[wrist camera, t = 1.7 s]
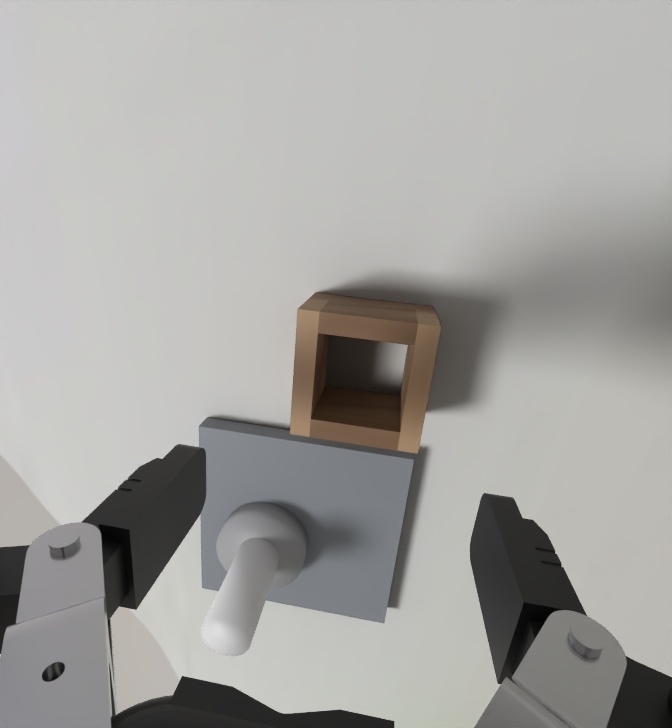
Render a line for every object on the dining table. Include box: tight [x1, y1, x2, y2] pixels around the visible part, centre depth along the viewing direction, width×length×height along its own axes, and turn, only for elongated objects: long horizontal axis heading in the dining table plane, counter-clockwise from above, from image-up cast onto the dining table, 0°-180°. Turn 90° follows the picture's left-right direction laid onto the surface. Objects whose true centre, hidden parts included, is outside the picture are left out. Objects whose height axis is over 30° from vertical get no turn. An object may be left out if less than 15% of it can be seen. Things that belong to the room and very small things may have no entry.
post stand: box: [199, 418, 414, 656], centre depth 24 cm, size 13×13×8 cm
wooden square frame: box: [290, 293, 441, 454], centre depth 22 cm, size 6×6×4 cm
